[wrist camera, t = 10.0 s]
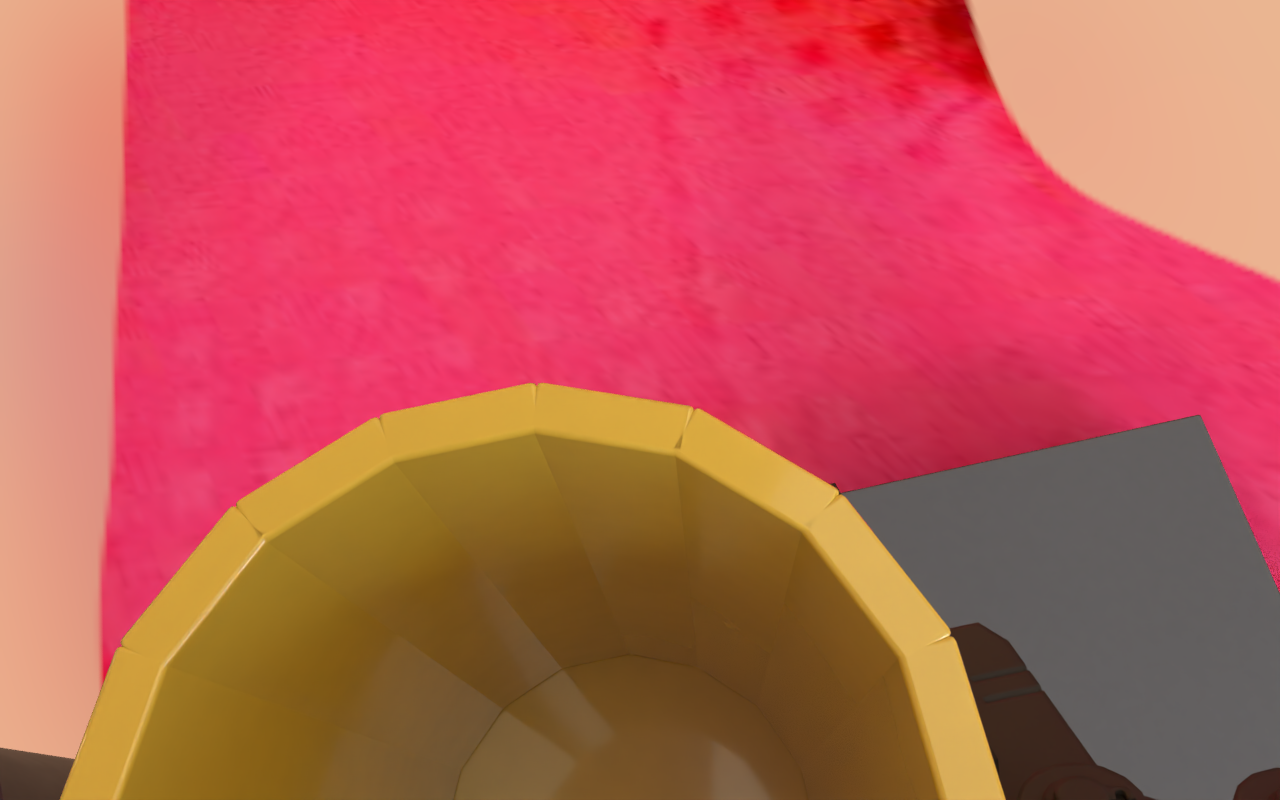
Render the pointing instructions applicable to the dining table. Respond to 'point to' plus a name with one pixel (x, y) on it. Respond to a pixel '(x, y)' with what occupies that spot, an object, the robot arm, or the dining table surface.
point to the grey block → (1111, 595)
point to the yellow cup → (539, 627)
